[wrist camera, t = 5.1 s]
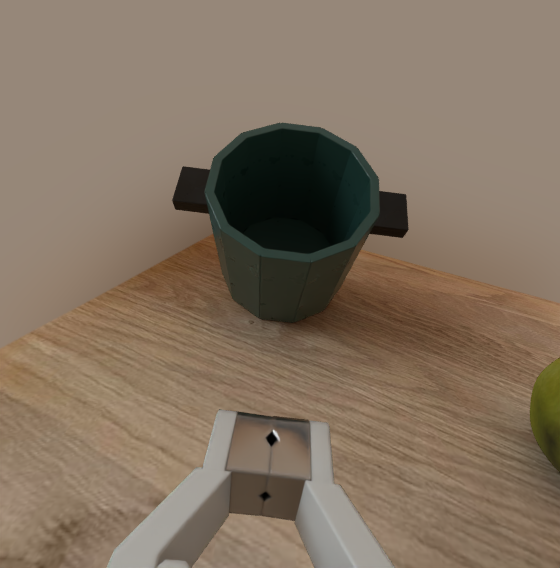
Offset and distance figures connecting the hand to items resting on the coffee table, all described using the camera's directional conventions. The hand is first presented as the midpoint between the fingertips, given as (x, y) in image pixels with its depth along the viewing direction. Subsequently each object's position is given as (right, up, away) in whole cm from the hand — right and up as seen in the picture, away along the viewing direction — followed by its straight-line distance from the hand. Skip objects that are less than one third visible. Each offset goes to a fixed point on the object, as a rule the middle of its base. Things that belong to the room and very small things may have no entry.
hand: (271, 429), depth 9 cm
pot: (+1, +6, +22) cm, 23 cm away
